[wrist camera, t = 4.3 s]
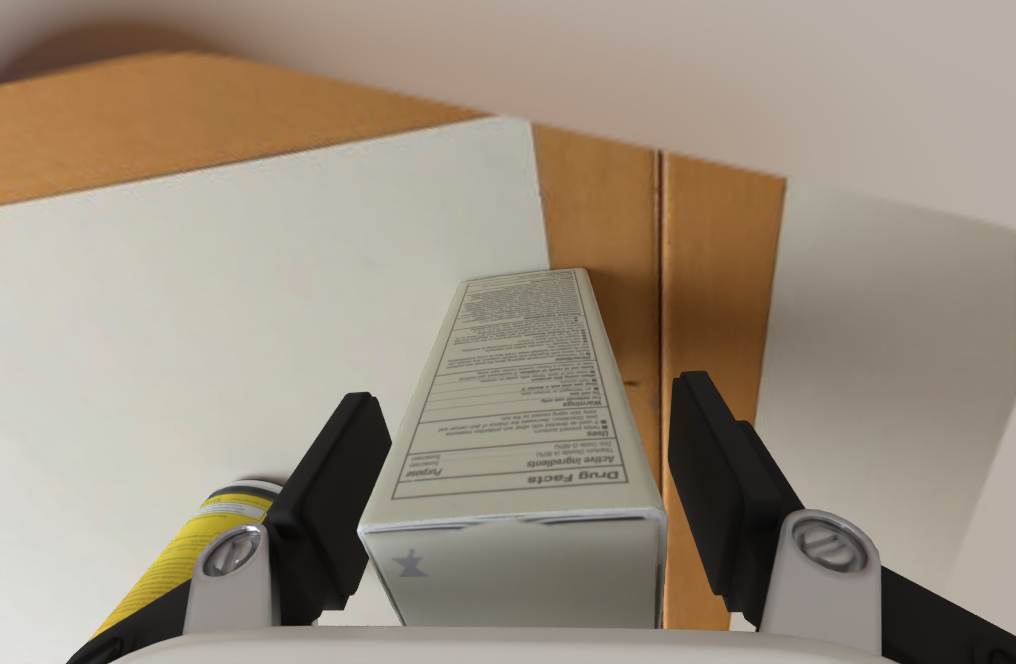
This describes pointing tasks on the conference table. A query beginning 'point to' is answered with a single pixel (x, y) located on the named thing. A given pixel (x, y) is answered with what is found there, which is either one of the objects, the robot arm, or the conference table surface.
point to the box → (520, 472)
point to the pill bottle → (197, 542)
